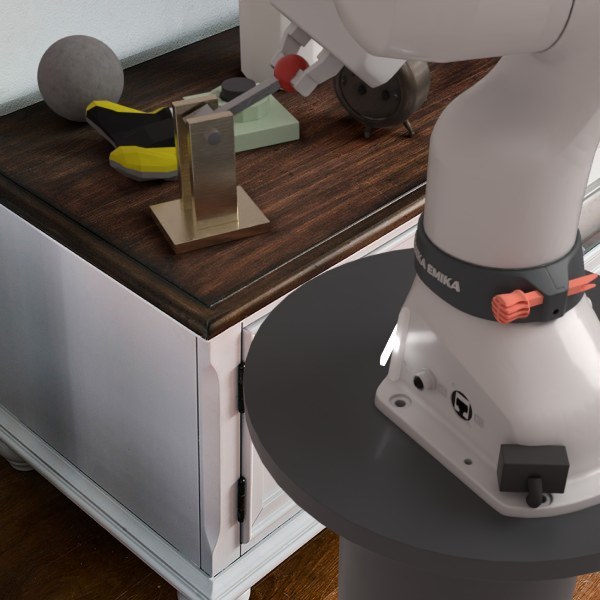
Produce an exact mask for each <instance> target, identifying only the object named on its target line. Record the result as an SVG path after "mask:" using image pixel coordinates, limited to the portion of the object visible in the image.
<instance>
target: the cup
mask: <svg viewBox="0 0 600 600" xmlns="http://www.w3.org/2000/svg"><path fill="white" fill-rule="evenodd" d="M238 20H239V21H238V22H239V43H240V44H239V45H240V71H241V72H242V74H243V75H244V76H245V78H249V79H251V80H253V81H254V82H255V83H262V82H264V81H265V80H267V79H269V78H270V77H272V76H274V69H273V68H272V67H271V66H270V65H269V62H270V60H271V59H272V57H273V56H274V55H275V54H276V52H277V51H278V50H279V46H280V43H281V40H282V37H283V34H284V31H285V30H286V28H287V27H288V26H289V25H290V24H291V21H290V20H288V19H287V18H286V17H285V16H284V15H282V14H281V13H280V12H279V11H278V10H277V9H276V8H275V7H274V6H272V5H271V4H270V1H269V0H238ZM322 49H323V47H321V46H320V45H319V44H318V43H316V42H315V41H314V40H313V39H312V38H311V40H310V41H309V42H308V43H307V44H306V46H305V47H303V46H302V45H301V47H300V49H299V51H298V53H297V55H300V56H302V57H303V58H304V59H305V60H306V61H307V62H308V64H309V66H311V65H312V64H314V63H315V62H317V61H318V60H319V59H317V56H318V54H319V53H320V52H321V51H322ZM281 90H283V89H280V91H281ZM283 91H284V90H283Z"/></svg>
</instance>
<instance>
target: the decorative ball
mask: <svg viewBox="0 0 600 600" xmlns="http://www.w3.org/2000/svg"><path fill="white" fill-rule="evenodd" d="M44 51H45V52H44V53H42V55H41V58H40V60H39V63H38V66H37V72H36V81H37V87H38V90H39V93H40V96H41V97H42V99H43V101H44V103H45V104H46V105H47V106H48V108H50V109H51V110H52V111H53V112H54V113H56V114H57V115H58V116H60V117H62V118H64V119H66V120H69V121H73V122H81V123H82V122H83V123H85V122H86V123H88V122H87V121H86V109H87V107H88V105H90V104H91V103H92V102H93V101H109V102H112V103H115V104H119V100H121V96H122V95H123V90H124V85H125V77H124V76H125V75H124V70H123V66H122V64H121V61H120V59H119V57H118V56H117V54H116V53H115V52H114V51H113V50H112V48H111V47H110V46H109V45H107V44H106V43H105V42H103V41H101V40H100V39H98V38H96V37H93V36H89V35H85V34H72V35H68V36H65V37H62V38H60V39H57V40H56V41H55V42H53V43H52V44H50V45H49V46H48V48H47V49H46V50H44Z"/></svg>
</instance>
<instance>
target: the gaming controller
mask: <svg viewBox="0 0 600 600" xmlns="http://www.w3.org/2000/svg"><path fill="white" fill-rule="evenodd" d="M86 121H87V122H86V123H88V125H90V126H91V127H92V128H93V129H94V130H96V132H98V134H100V136H102V137H103V138H105V140H107V142H109V143H110V144H111V145H112V146H113V147H114V148H115V149H114V150H113V151H111V152H110V154H109V158H108V160H109V162H108V163H109V166H110V167H111V168H113V169H114V170H116V171H117V172H119V173H120V174H121V175H123V176H124V177H127V178H128V179H132V180H134V181H137V182H148V181H155V180H164V181H165V182H166V181H168V182H169V181H171V182H172V181H178V172H177V160H176V147H175V135H174V123H173V111H172V107H169V106H163V107H158V108H157V109H156V110H153V111H150V112H145V111H142V110H139V109H135V108H131V107H129V106H125V105H121V104H119V103H117V104H115V103H112V102H109V101H93V102H92V103H91V104H90V105H88V107H87V109H86Z"/></svg>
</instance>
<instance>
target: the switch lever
mask: <svg viewBox="0 0 600 600" xmlns="http://www.w3.org/2000/svg"><path fill="white" fill-rule="evenodd" d="M308 67H310V66H309V64H308V62H307V61H306V60H305V59H304V58H303V57H302V56H300V55H297V54H288V55H285V56H283V57H281V58H280V59H279V60H278V61H277V63H276V65H275V67H274V76H272V77H270V78H269V79H267V80H265V81H264V82H262V83H260V84H259V85H257V86H255V87H253V88H252V89H250V90H248V91H247V92H245V93H243V94H242V95H240V96H238V97H236V98H235V99H233V100H231V101H230V102H228V103H226V104H224V105H223V106H221V107H219V108H218V109H216V110H214V111H213V110H212V109H211V108H210V107H209V105H208V104H206V105H204V106H203V107H201V108H199V109H197V110H196V111H194V112H192V113H191V114H189V115H187V116H185V117H184V118H182V119H183V121H184V123H185V125H186V119H190V118H195V117H200V116H205V115H210V114H215V113H220V112H225V111H231V112H232V114H233V116H235V115H236V114H238V113H240V112H241V111H243V110H245V109H247V108H248V107H250V106H252V105H253V104H255V103H257V102H258V101H260V100H262V99H264V98H265V97H267V96H269V95H270V94H271V95H272V94H274V93H276V92H277V91H279V90H281V89H283V91H285V92H288V93H297V92H298V91H297V90H296V89H294V88H293V87H292V86H291V85H290V80H291V79H292V77H294V76H295V74H296V72H297V71H298V70H299V69H301V70H303V71H304V70H306V69H307V68H308Z"/></svg>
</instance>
